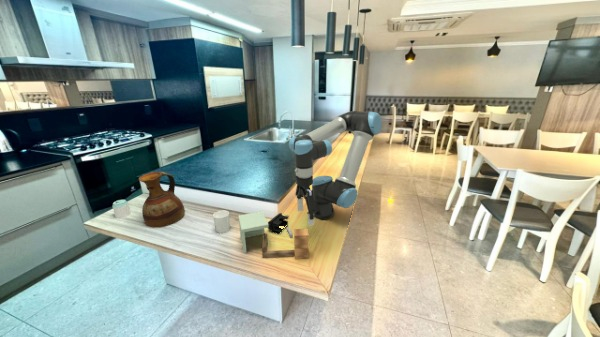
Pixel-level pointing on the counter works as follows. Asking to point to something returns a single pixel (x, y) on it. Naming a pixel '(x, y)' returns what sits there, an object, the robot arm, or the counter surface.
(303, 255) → the wooden desk organizer
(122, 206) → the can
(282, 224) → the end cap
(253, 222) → the cubby shelf
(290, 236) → the stop strip
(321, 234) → the counter surface
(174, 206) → the ceramic pitcher
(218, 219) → the white cup
